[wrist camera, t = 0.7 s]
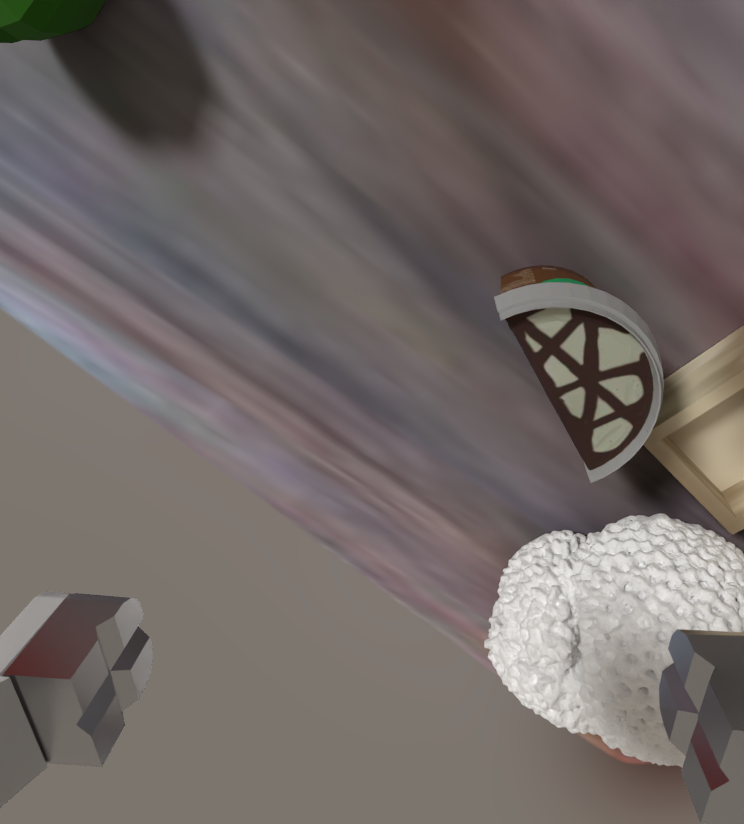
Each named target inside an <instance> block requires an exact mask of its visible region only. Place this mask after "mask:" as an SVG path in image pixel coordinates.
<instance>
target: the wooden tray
mask: <svg viewBox="0 0 744 824" xmlns="http://www.w3.org/2000/svg"><path fill="white" fill-rule="evenodd" d="M643 445H644V446H645V447H646V448H647V449H648V450H649V451H650V452H651V453H652V454H653V455H654V456H655V457H656V458H657V459H658V460H659V461H660V462H661V463H662V464H663V466H664V467H665V468H666V469H667V470H668V471H669V472H670V473H671V474H672V475H673V476H674V477H675V478H676V479H677V480H678V481H679V482H680V483H681V484H682V485H683V486H684V487H685V488H686V489H687V490H688V491H689V492H690V493H691V494H692V495H693V496H694V497H695V498H696V499H697V500H698V501H699V502H700V503H701V504H702V505H703V506H704V507H705V508H706V509H707V510H708V511H709V512H710V513H711V514H712V515H713V516H714V517H715V518H716V519H717V520H718V521H719V522H720V523H721V524H722V525H723V526H724V527H725V528H726V529H727V530H728V531H729V532H730V533H731V534H732V535H733V534H735V533H737V532H739V531H741V530H743V529H744V325H743V326H742V327H740V328H739V329H737V330H736V331H734V332H733V333H732V334H730V335H729V336H727V337H726V338H724V339H723V340H721V341H720V342H718V343H717V344H715V345H714V346H713V347H711V348H710V349H708V350H707V351H705V352H704V353H702V354H701V355H699V356H698V357H696V358H695V359H693V360H692V361H691V362H689V363H688V364H686V365H685V366H683V367H682V368H680V369H679V370H677V371H676V372H674V373H673V374H672V375H670V376H669V377H667V378H666V379H664V391H663V401H662V405H661V409H660V412H659V416H658V418H657V421H656V423H655V425H654V427H653V429H652V431H651V434H650V435H649V437H648V438H647V440H646V441H645V443H644V444H643Z"/></svg>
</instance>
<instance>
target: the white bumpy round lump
mask: <svg viewBox="0 0 744 824" xmlns="http://www.w3.org/2000/svg"><path fill="white" fill-rule="evenodd" d="M508 565H509V567H507V568H504V569H503V572H504V575H503V576H501V578H500V580H501V581H500V583H499V589H498V591H497V592H498V594H499V596H500V598H499V599H498V601H496V602H495V605H494V606H493V615H492V617H490V618H489V622H490V623H491V628H490V629H489V634H488V636H489V639H487V640H485V642H484V647H485V648H488V649H490V652H489V655H488V659H490V660H491V661H492V663H493V666H494V668H495V669H496V670H497V674H498V675H499V676H500V678H501V679H502V683H503V684H504V685H506V686H508V690H509V691H510V692H513V693H514V695H515V696H516V697H517V698H518V699H519V700H520V702H521V704H522V705H525V706H526V707H527V708H529V709H533V710H534V712H535V714H540V715H541V716H542V717H544V718H545V719H547V720H549V721H550V722H551V723H552V724H555V725H556V726H557V727H558V728H561V727H566V728H567V729H568V730H569V731H570V732H571V733H577V732H581V733H582V734H585V733H586V732H589V733H590V734H594V735H595V734H598V735H599V736H601V737H602V740H603V741H604V743H606V744H607V745H608V747H610V748H611V749H614V748H617V747H618V748H619V749H620V750H621V751H622V753H623V754H624V755H626V756H630V757H632V756H635V757H636V758H638V760H642V761H648V762H651V763H652V764H654V763H656V764H657V765H662V764H664V765H666V766H670V765H671V766H672V765H677V766H680V767H682V768H683V764H684V761H685V757H686V756H685V755H684V754H683V753H682V752H681V751H680V750H678V749H677V748H676V747H675V746H674V745H673V744H672V743H671V742H670V741H669V738H668V736H667V733H666V730H665V727H664V724H663V720H662V716H661V711H660V703H659V685H660V680H661V675H662V671H663V670H664V669H666V668H667V667H668V666H670V665H671V664H672V663H674V662H673V659H672V657H671V655H670V652H669V650H668V647H669V643H670V640H671V636H672V635H673V633H674V632H675V631H676V630H677V629H684V630H704V631H725V632H744V554H743V552H742V551H741V550H740V549H739V548H737V547H735V545H734V544H732V543H731V542H726V540H725V539H724V538H723V537H720V536H719V535H718V534H716V533H715V532H714V531H711V530H706V529H704V528H703V527H702V526H700V525H698V524H689V523H687V524H686V523H684V522H682V521H681V520H679V519H671V518H670V517H668V516H667V515H666V514H661V513H659V514H656V515H653V516H650V517H647V516H645V515H642V516H641V515H637V516H628V517H625V518H623V519H620V520H619V521H618V522H616V523H609V524H608V525H606V526H605V528H604V529H603V530H602V531H601V532H595V533H589V534H588V536H585V535H582V534H580V533H576V534H574V533H573V531H571V530H562V531H552V532H551V534H547V533H546V534H544V535H542V536H539V537H538V538H537V539H534V540H533V541H532V542H529V544H527V545H523V546H522V547H521V549H520V550H518V551H517V552H516V554H515V555H514V556H513V557H512V559H509V563H508Z"/></svg>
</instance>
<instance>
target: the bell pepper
mask: <svg viewBox="0 0 744 824" xmlns="http://www.w3.org/2000/svg"><path fill="white" fill-rule="evenodd" d="M104 2H105V0H0V43H14V42H18V41H21V40H39V41H41V40H45V39H48V38H52V37H55V36H59V35H63V34H66V33H69V32H72V31H76V30H79V29H82V28H84V27H86V26H88V25H90V24H92V23H93V22H94V20H95V18H96V16H97V15H98V13H99V11H100V9H101V8H102V6H103V4H104Z"/></svg>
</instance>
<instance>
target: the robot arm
mask: <svg viewBox="0 0 744 824" xmlns="http://www.w3.org/2000/svg"><path fill="white" fill-rule="evenodd" d="M143 617H144V615H143V611H142V608H141V605H140V602H139V601H138V600H136V599H133V598H125V597H114V596H101V595H90V594H78V593H75V594H71V593H70V594H69V593H59V592H48V591H46V592H44V593H42V594H40V595H38V596H36V597H35V598H34V599H33V600H32V601H31V602H30V603H29V605H28V606H27V607H26V608H25V609H24V610H23V611H22V612H21V613H20V615H19V616H18V617H17V618H16V619H15V620H14V621H13V623H11V625H10V626H9V627H8V628H7V629H6V630H5V631H4V633H3V634H2V635H1V636H0V808H1V807H2V806H3V805H4V804H5V803H7V802H8V800H10V799H11V798H12V797H13V796H15V795H16V794H17V793H18V792H19V791H20V790H22V789H23V788H24V787H25V786H26V785H27V784H28V783H30V782H31V781H32V780H33V779H34V778H35V777H37V776H38V775H39V774H40V773H41V772H42V771H44V770H45V769H46V768H47V763H48V764H64V765H65V764H66V765H80V766H81V765H82V766H96V767H102V766H103V764H104V762H105V761H106V759H107V757H108V755H109V753H110V751H111V749H112V748H113V746H114V744H115V742H116V740H117V739H118V737H119V735H120V733H121V731H122V730H123V728H124V726H125V723H124V717H123V711H124V710H125V709H126V708H128V707H129V706H130V705H132V704H133V703H134V702H135V701H137V700H138V699H139V698H140V696H141V694H142V692H143V690H144V689H145V687H146V685H147V682H148V679H149V675H150V671H151V667H152V663H153V651H152V650H153V649H152V645H151V641H150V637H149V636H148V635H147V634H146V633H144V631H143V630H141V629H140V628H139V627H138V625H139V624H140V622H141V620H142V619H143ZM668 650H669V652H670V655H671V657H672V659H673V662H674V663H672V664H671V665H670V666H668V667H667V668H666V669H664V670H663V671H662V675H661V680H660V685H659V703H660V711H661V716H662V720H663V724H664V727H665V730H666V733H667V736H668V738H669V741H670V742H671V743H672V744H673V745H674V746H675V747H676V748H677V749H678V750H680V751H681V752H682V753H683V754H684V755H685V756H686V757H685V761H684V764H683V768H682V771H681V773H682V776H683V779H684V781H685V784H686V786H687V789H688V792H689V794H690V797H691V800H692V802H693V805H694V808H695V810H696V813H697V815H698V818H699V821H700V823H702V824H744V632H725V631H704V630H684V629H677V630H676V631H675V632H674V633H673V635H672V636H671V640H670V643H669V647H668Z"/></svg>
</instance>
